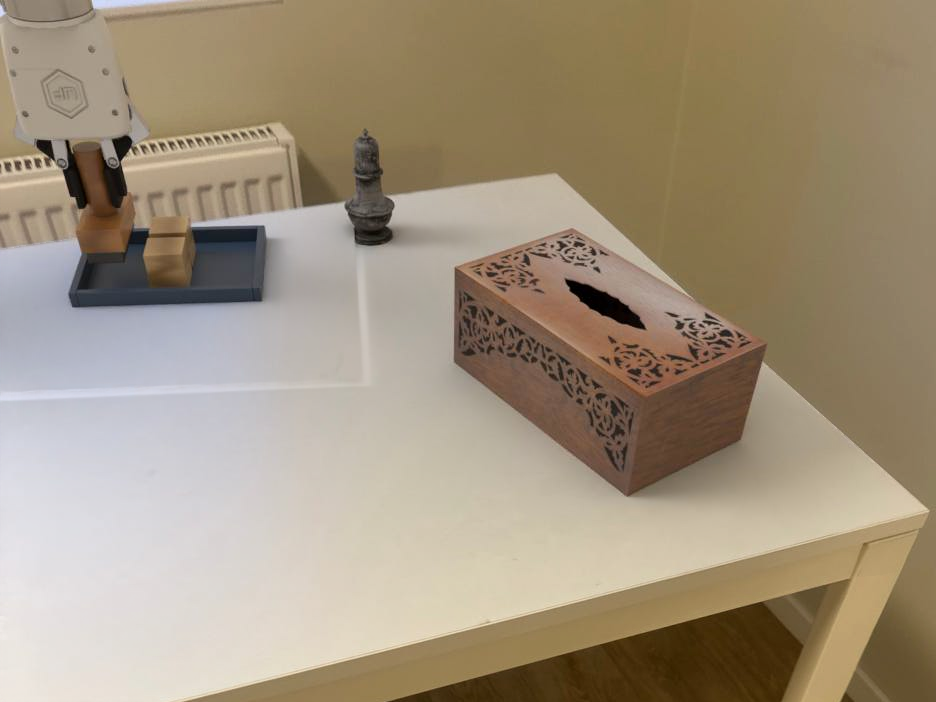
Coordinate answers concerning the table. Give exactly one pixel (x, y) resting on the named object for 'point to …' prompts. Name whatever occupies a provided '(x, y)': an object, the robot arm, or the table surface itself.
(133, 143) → the robot arm
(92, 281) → the tray
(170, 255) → the block
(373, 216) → the salt shaker
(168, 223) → the block
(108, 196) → the brush
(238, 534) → the table surface
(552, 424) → the tissue box cover
